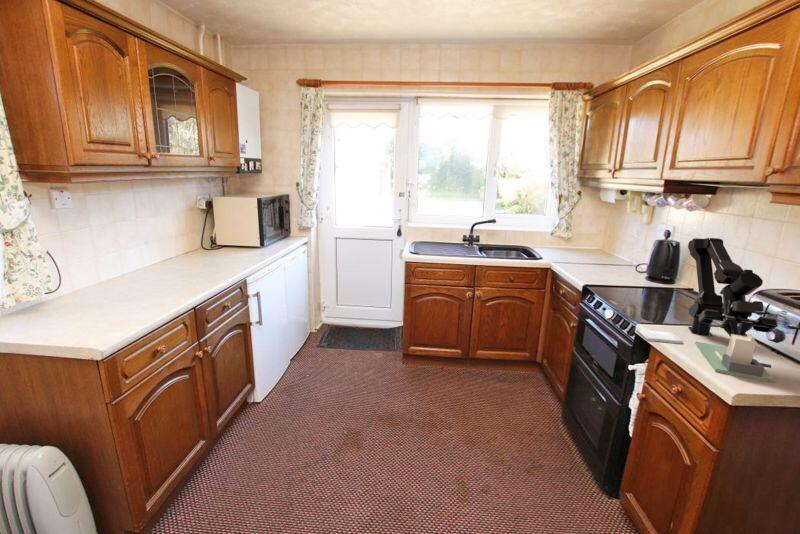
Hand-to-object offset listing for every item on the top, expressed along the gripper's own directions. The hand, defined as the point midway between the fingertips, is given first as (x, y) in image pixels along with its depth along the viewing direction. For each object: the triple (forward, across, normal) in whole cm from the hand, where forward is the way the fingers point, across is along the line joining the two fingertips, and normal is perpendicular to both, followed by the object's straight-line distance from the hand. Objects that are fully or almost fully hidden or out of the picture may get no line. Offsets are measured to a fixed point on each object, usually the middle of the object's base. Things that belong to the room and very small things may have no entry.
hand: (738, 345), depth 120 cm
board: (+3, 0, +6) cm, 7 cm away
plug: (+6, +3, +2) cm, 7 cm away
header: (+8, 0, 0) cm, 8 cm away
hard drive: (-4, -18, +15) cm, 24 cm away
